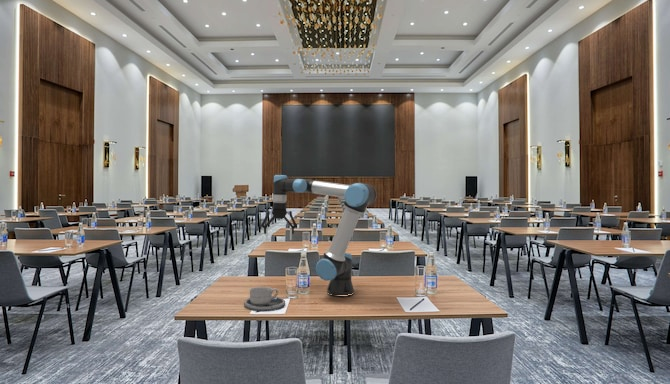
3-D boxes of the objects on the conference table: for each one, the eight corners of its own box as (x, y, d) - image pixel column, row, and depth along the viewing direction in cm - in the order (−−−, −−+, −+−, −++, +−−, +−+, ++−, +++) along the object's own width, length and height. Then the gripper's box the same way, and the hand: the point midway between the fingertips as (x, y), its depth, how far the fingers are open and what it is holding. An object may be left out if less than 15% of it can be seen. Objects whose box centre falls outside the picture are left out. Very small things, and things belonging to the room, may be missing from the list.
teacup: (248, 308, 196) (249, 291, 196) (249, 301, 207) (250, 285, 207) (278, 307, 199) (278, 290, 199) (277, 301, 209) (278, 285, 209)
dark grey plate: (291, 302, 212) (291, 298, 212) (274, 313, 193) (274, 309, 193) (256, 298, 218) (256, 294, 218) (236, 308, 199) (236, 304, 199)
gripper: (300, 202, 241) (299, 239, 241) (257, 201, 236) (256, 238, 236) (302, 203, 234) (301, 240, 234) (257, 202, 228) (256, 240, 228)
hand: (278, 239), depth 235 cm, fingers open, 13 cm apart
